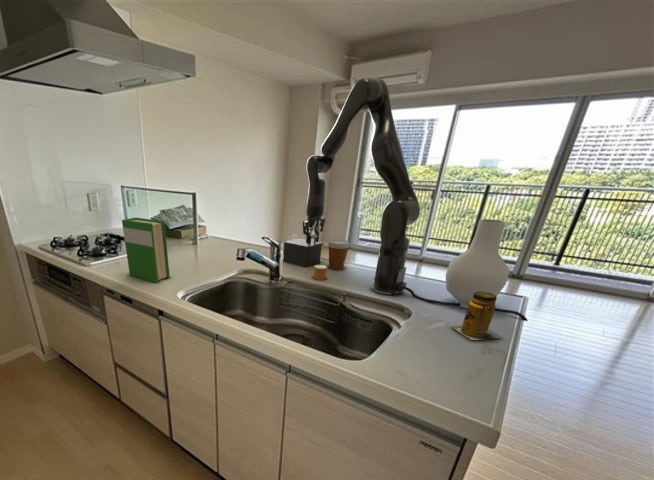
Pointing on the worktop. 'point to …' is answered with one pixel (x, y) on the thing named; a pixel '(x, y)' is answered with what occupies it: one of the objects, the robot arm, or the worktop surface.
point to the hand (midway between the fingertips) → (312, 242)
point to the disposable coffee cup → (337, 253)
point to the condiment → (479, 317)
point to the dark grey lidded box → (302, 255)
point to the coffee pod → (320, 272)
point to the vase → (479, 265)
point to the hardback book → (146, 248)
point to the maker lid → (304, 242)
